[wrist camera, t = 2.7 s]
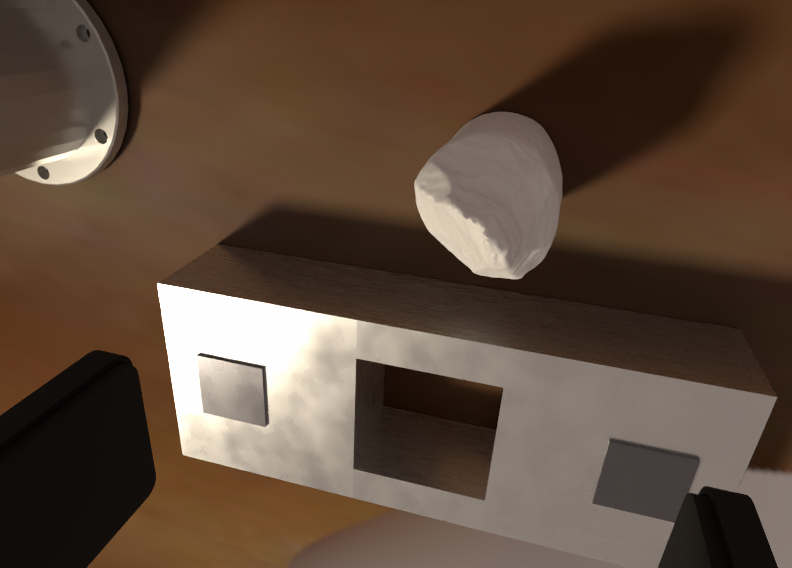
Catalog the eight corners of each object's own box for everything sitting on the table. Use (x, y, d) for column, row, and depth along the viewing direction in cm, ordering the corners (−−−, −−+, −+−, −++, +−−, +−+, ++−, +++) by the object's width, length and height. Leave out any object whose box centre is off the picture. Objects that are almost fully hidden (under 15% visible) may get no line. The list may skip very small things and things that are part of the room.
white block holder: (217, 243, 36) (154, 285, 30) (739, 328, 29) (778, 400, 24) (231, 398, 41) (180, 456, 36) (677, 498, 35) (697, 588, 29)
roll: (353, 255, 20) (447, 123, 17) (427, 172, 30) (492, 81, 28) (489, 358, 20) (603, 243, 17) (516, 240, 31) (590, 157, 28)
